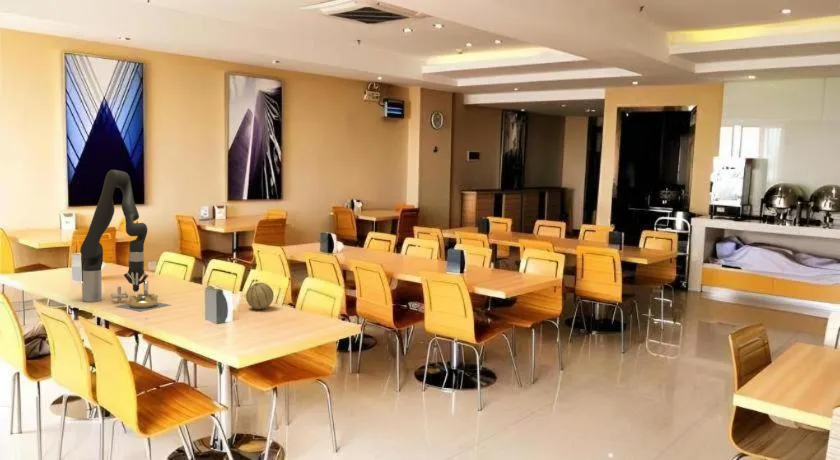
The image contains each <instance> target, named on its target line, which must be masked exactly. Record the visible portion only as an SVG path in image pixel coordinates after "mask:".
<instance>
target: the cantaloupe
mask: <svg viewBox="0 0 840 460" xmlns="http://www.w3.org/2000/svg"><path fill="white" fill-rule="evenodd" d="M274 295H275V294H274V291H273V288H272V287H271V286H270V285H269V284H267V283H265V282H255V283H254V284H252V285H250V286H249V287H248V289H247V291H246V293H245V298H246V299H245V300H246V302H247V304H248V305H249V307H251V308H252V309H254V310H263V309H266V308H268V307H270V306H271V304H272V303H273V300H274Z"/></svg>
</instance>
